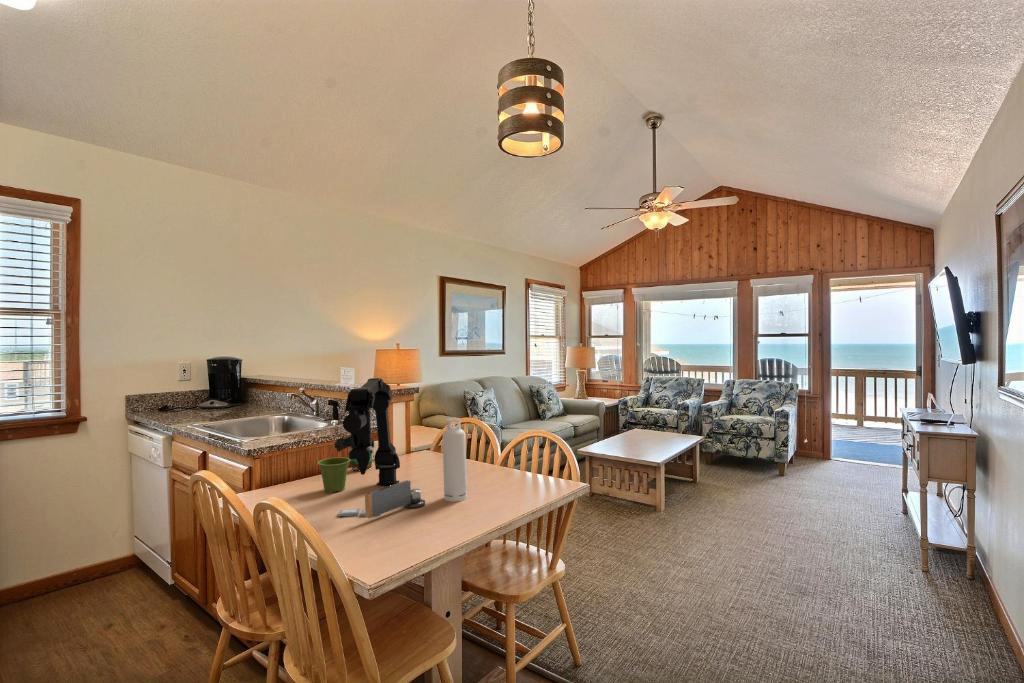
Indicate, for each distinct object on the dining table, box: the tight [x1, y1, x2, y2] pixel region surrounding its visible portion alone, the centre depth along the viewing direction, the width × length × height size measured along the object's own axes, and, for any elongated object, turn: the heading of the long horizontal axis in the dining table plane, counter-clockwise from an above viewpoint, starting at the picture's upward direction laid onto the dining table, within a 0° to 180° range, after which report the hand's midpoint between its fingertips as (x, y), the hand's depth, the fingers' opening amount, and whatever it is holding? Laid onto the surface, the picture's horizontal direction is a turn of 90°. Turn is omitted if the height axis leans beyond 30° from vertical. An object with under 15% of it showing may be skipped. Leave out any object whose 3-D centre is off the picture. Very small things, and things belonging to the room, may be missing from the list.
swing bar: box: [364, 479, 422, 519], centre depth 163 cm, size 22×4×8 cm, turn 143°
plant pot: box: [317, 456, 351, 493], centre depth 190 cm, size 12×12×11 cm
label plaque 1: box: [338, 508, 361, 518], centre depth 163 cm, size 4×6×1 cm, turn 100°
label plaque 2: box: [360, 509, 379, 517], centre depth 162 cm, size 4×6×1 cm, turn 100°
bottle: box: [442, 417, 468, 503], centre depth 177 cm, size 8×8×28 cm
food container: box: [348, 446, 375, 472], centre depth 220 cm, size 12×6×10 cm, turn 147°
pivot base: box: [404, 498, 426, 510], centre depth 170 cm, size 7×7×1 cm
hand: (362, 474), depth 163 cm, fingers closed
